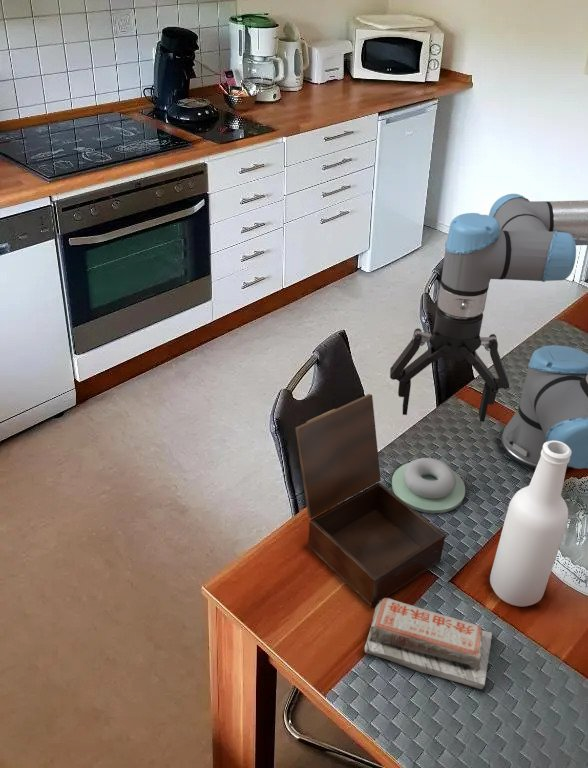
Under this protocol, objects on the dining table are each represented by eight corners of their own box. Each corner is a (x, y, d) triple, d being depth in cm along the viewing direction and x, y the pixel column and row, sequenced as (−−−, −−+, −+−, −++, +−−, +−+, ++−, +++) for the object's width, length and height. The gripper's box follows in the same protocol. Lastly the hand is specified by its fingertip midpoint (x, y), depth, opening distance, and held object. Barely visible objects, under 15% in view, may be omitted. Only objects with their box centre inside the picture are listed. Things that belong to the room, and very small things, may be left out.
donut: (463, 483, 143) (419, 460, 148) (466, 469, 141) (421, 446, 146) (437, 510, 136) (392, 485, 141) (440, 497, 134) (394, 472, 139)
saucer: (473, 478, 145) (474, 475, 144) (451, 523, 134) (452, 520, 134) (406, 455, 150) (407, 452, 149) (380, 496, 140) (380, 493, 139)
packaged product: (365, 634, 108) (381, 584, 116) (362, 654, 111) (378, 604, 119) (489, 672, 104) (497, 617, 112) (483, 692, 107) (491, 637, 114)
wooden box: (440, 562, 127) (445, 534, 123) (371, 608, 118) (375, 580, 115) (375, 508, 137) (379, 481, 133) (307, 547, 129) (309, 519, 125)
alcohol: (549, 581, 124) (596, 442, 107) (533, 617, 118) (580, 476, 101) (499, 559, 128) (536, 421, 111) (481, 593, 121) (517, 453, 104)
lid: (372, 394, 126) (352, 387, 130) (298, 429, 118) (279, 420, 122) (380, 480, 133) (362, 471, 137) (311, 518, 124) (293, 508, 128)
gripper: (382, 314, 118) (372, 420, 130) (542, 326, 116) (516, 432, 128) (383, 293, 124) (373, 395, 136) (535, 304, 122) (511, 407, 134)
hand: (442, 414), depth 132 cm, fingers open, 13 cm apart
